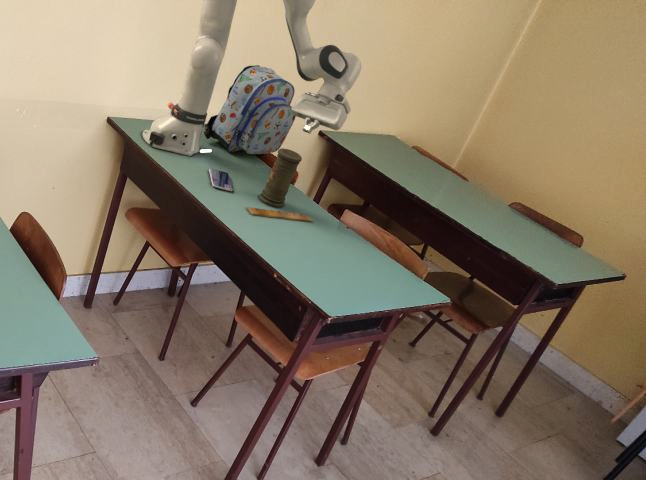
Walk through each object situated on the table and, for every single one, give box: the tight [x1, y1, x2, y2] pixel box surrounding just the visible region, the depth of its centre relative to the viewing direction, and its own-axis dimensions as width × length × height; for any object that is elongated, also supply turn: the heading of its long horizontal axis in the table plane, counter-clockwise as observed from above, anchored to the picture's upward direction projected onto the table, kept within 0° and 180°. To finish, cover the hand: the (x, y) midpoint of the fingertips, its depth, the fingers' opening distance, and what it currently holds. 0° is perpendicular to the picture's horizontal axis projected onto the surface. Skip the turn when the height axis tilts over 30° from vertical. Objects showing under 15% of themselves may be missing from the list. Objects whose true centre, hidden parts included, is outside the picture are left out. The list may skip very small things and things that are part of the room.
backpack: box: [203, 64, 297, 155], centre depth 242 cm, size 33×25×31 cm
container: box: [259, 147, 303, 208], centre depth 211 cm, size 9×9×18 cm
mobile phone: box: [208, 168, 234, 192], centre depth 216 cm, size 8×1×15 cm
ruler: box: [247, 207, 313, 223], centre depth 208 cm, size 24×4×1 cm, turn 110°
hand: (306, 131), depth 213 cm, fingers closed
